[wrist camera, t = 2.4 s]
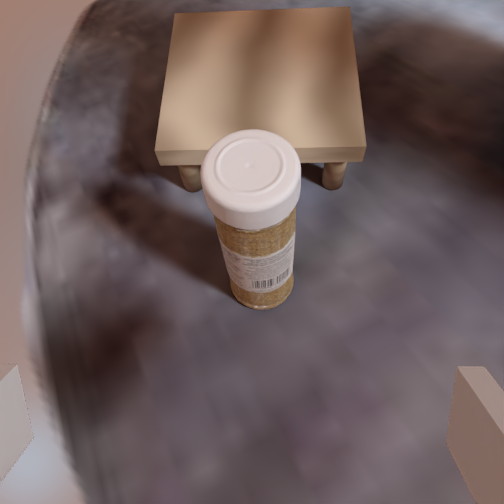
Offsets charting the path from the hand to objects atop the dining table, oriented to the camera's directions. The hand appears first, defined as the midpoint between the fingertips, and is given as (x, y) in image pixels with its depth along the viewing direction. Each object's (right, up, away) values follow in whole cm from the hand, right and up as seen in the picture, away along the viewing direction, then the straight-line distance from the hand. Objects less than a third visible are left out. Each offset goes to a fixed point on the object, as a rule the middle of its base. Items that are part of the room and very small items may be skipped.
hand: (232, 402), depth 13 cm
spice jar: (+1, +2, +18) cm, 18 cm away
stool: (+2, +15, +24) cm, 29 cm away
